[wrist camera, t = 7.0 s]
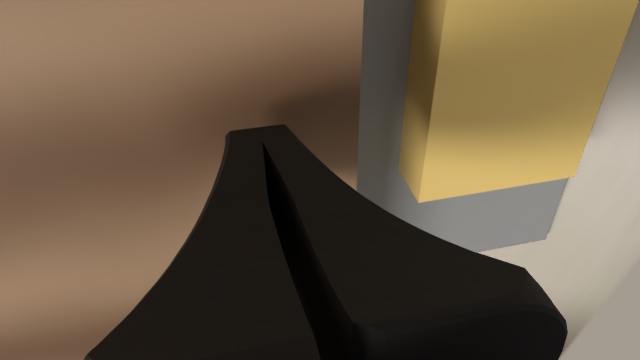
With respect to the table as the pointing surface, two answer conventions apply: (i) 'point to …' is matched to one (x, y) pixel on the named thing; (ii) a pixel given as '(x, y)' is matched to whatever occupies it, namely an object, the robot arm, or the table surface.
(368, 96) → the mat
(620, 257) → the table surface
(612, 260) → the table surface
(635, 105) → the table surface
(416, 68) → the yellow rectangular block
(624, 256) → the table surface
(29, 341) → the deck
